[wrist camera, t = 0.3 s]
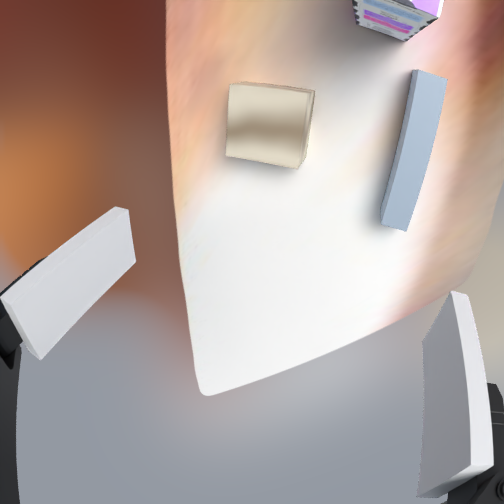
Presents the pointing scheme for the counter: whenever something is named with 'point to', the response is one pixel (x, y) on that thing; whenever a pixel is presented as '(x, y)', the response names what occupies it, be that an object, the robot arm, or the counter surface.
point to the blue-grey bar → (413, 148)
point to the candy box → (397, 15)
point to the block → (269, 123)
